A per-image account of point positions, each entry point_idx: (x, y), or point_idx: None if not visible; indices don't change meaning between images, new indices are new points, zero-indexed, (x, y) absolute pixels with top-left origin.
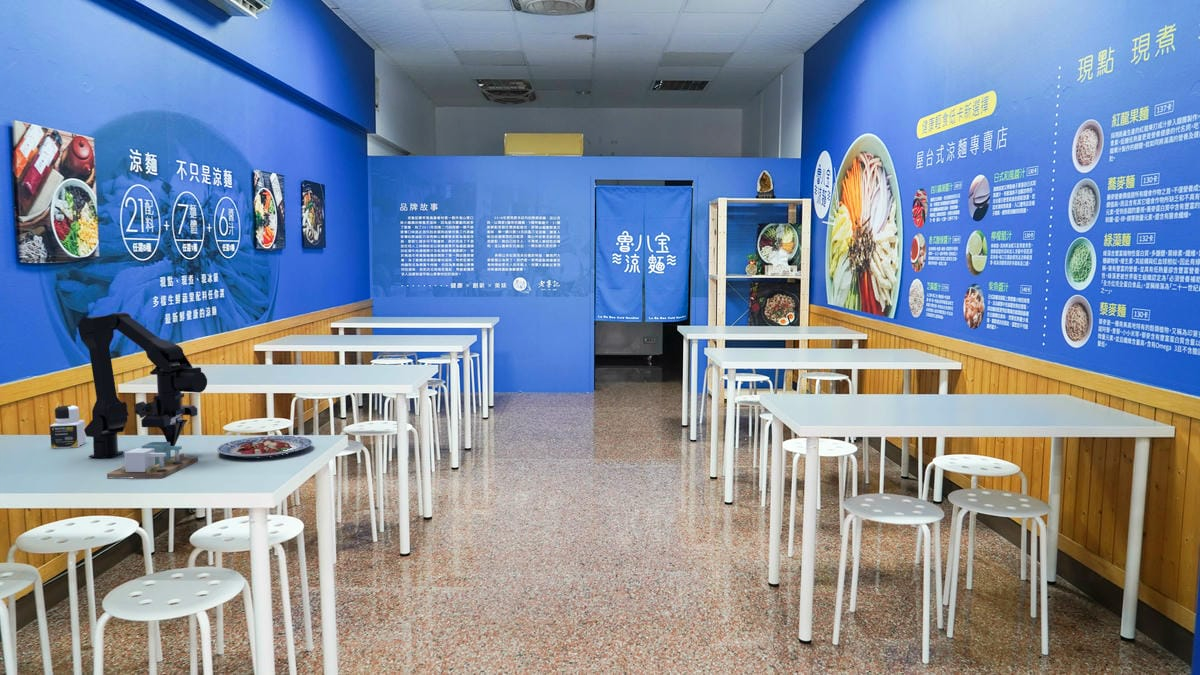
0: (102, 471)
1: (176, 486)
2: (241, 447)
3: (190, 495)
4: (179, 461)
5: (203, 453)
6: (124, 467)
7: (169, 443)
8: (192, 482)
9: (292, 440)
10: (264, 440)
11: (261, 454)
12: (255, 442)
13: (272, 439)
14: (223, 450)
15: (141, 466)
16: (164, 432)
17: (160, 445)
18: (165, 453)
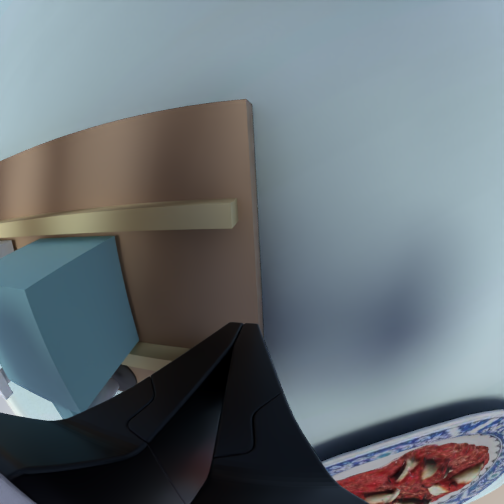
0: (34, 61)
1: (20, 389)
2: (405, 474)
3: (14, 411)
4: (150, 372)
5: (443, 352)
6: (12, 171)
7: (79, 406)
8: (49, 413)
9: (461, 493)
10: (449, 489)
11: None
12: (498, 443)
13: (497, 463)
14: (349, 465)
15: None
16: (112, 415)
17: (12, 377)
18: (5, 397)
